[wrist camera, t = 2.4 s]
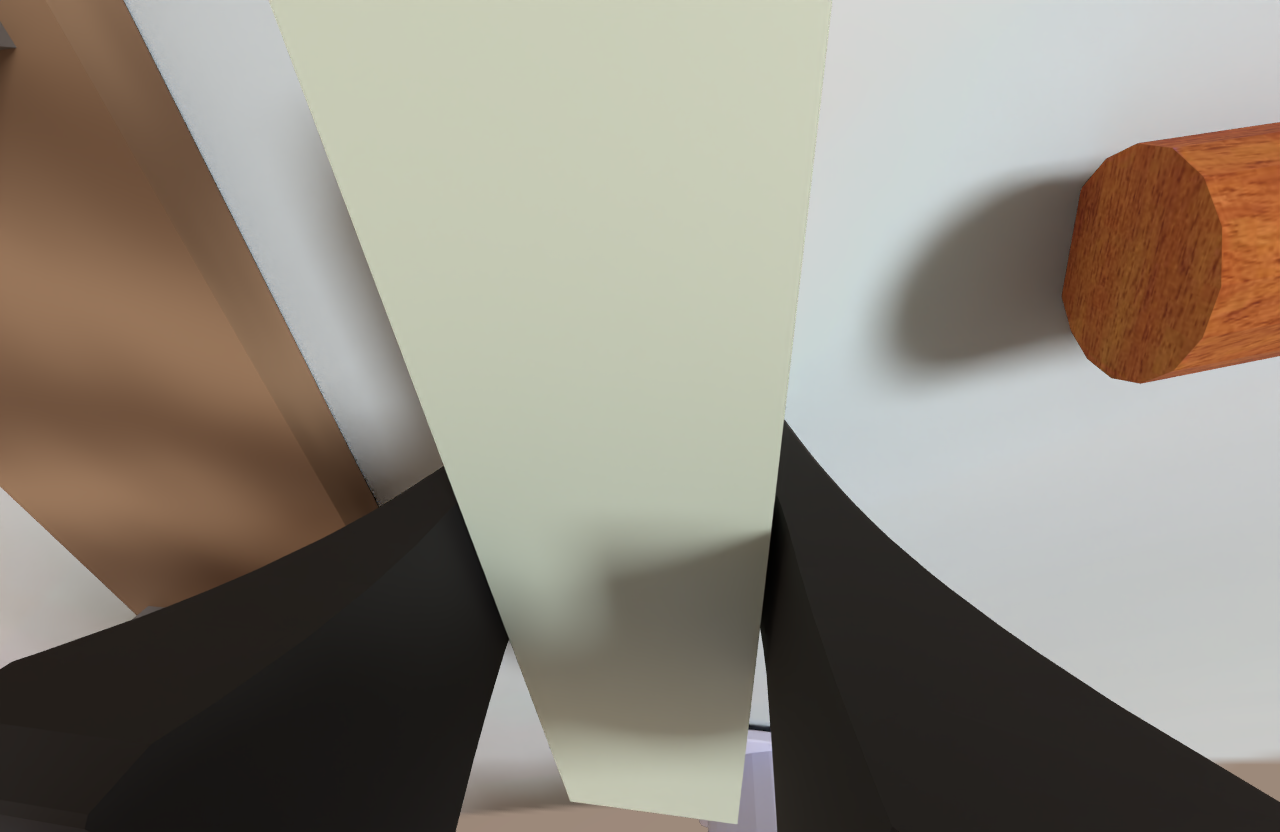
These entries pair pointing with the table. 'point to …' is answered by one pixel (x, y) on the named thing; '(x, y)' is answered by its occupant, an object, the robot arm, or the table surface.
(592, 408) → the slat
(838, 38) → the table surface
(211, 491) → the cradle
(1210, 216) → the brown piece
